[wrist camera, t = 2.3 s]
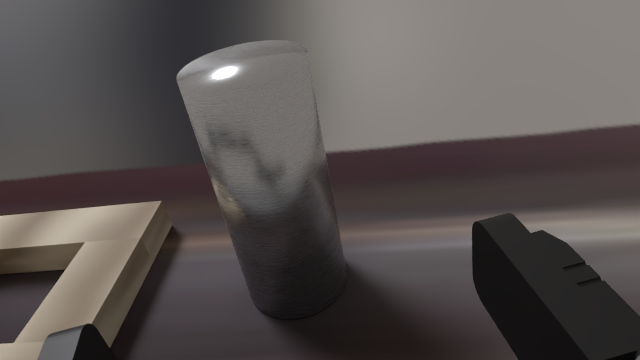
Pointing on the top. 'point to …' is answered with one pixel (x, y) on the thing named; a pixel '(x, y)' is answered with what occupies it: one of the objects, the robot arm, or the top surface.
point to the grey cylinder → (269, 172)
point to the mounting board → (82, 266)
